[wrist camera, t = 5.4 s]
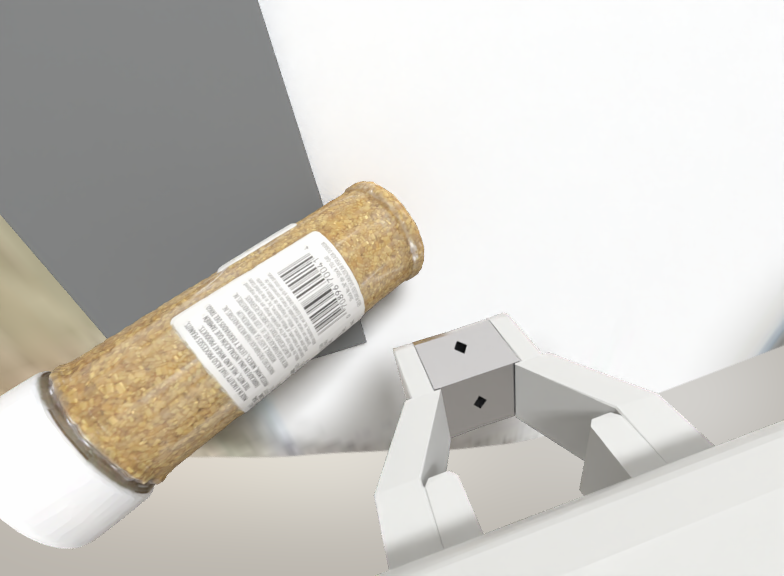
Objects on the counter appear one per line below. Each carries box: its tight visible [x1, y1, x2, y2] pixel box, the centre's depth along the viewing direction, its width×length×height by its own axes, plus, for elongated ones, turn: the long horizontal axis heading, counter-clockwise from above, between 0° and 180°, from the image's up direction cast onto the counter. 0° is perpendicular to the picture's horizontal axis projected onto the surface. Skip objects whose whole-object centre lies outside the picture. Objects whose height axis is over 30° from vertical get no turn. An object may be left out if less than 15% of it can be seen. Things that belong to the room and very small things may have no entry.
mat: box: [0, 0, 366, 359], centre depth 16 cm, size 11×17×1 cm, turn 11°
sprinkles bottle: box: [0, 181, 424, 548], centre depth 13 cm, size 5×5×14 cm
